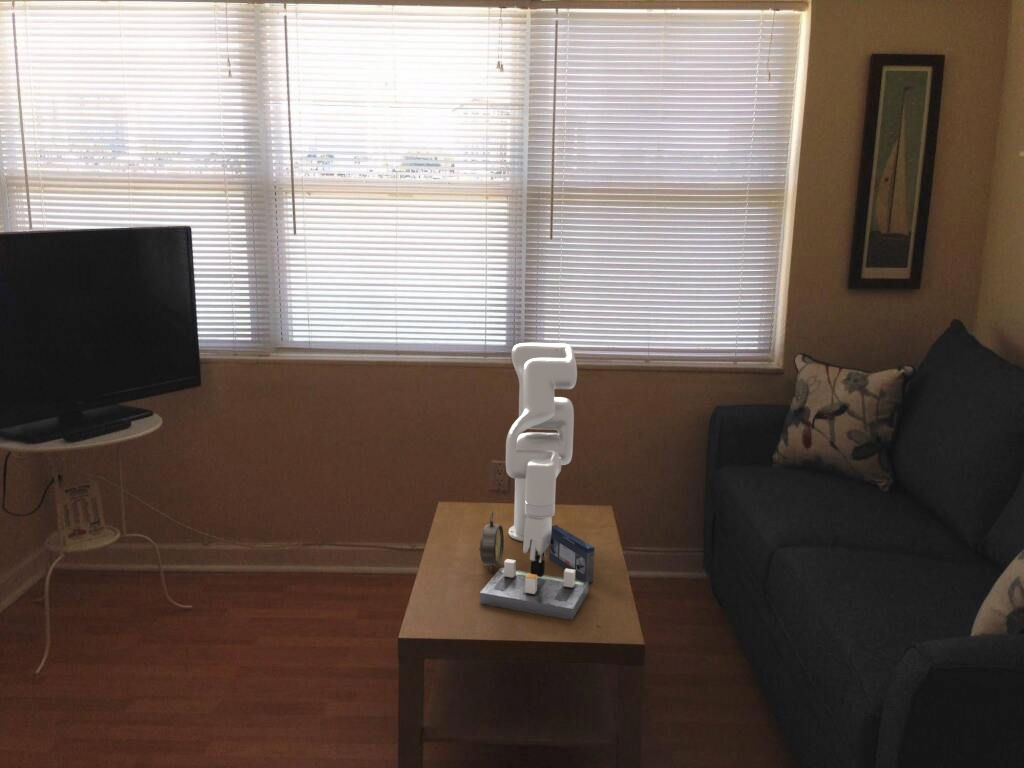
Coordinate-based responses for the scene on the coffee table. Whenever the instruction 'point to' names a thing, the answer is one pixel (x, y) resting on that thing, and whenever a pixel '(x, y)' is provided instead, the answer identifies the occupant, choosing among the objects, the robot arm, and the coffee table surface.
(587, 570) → the vhs cassette tape
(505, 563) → the breaker
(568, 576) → the block
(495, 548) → the dial indicator gauge
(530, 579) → the block
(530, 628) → the coffee table surface
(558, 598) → the breaker panel
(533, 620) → the coffee table surface
